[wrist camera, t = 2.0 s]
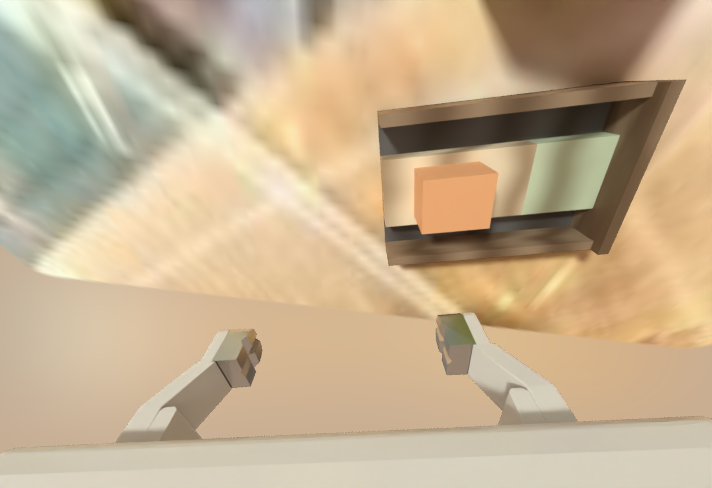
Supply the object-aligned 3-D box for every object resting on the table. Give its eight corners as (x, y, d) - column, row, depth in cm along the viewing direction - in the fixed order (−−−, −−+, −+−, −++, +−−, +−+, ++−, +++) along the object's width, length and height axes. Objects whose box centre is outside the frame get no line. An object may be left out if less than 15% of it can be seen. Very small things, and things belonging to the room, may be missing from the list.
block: (479, 161, 24) (498, 173, 21) (473, 210, 27) (489, 228, 24) (414, 168, 25) (422, 180, 21) (414, 216, 27) (421, 234, 24)
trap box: (625, 81, 23) (686, 79, 19) (573, 230, 31) (608, 253, 27) (377, 111, 25) (381, 115, 20) (385, 246, 32) (389, 271, 28)
